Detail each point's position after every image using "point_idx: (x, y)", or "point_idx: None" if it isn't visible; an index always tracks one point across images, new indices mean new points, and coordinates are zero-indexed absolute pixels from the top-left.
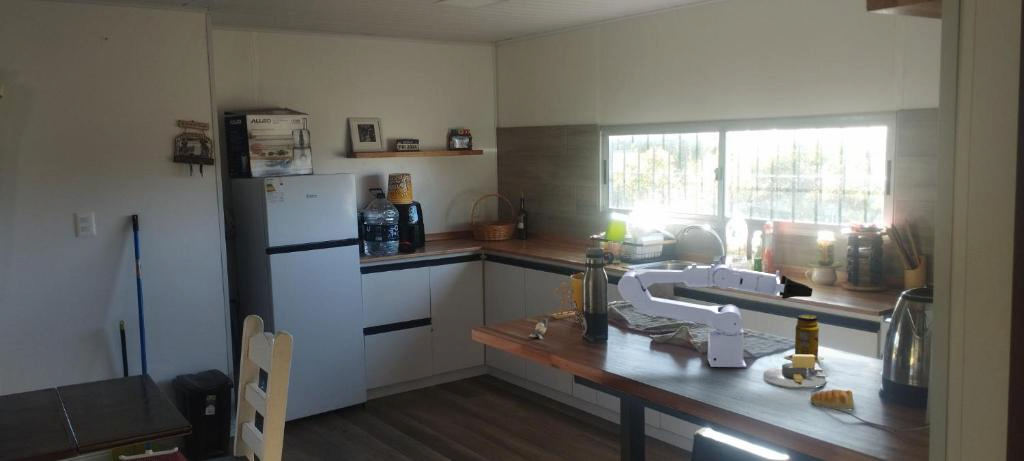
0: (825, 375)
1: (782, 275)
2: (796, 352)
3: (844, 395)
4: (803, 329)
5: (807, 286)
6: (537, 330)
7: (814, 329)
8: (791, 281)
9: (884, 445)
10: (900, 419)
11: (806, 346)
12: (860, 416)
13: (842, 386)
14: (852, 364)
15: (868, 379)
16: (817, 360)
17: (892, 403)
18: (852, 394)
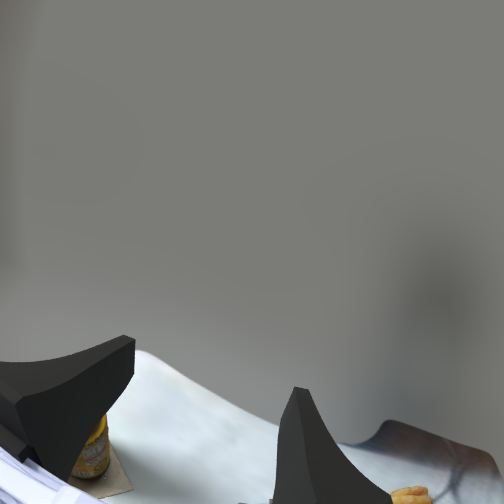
0: (271, 502)
1: (3, 396)
2: (78, 474)
3: (430, 498)
4: (91, 442)
5: (131, 343)
6: None
7: (105, 414)
8: (373, 487)
9: (492, 478)
10: (430, 449)
11: (103, 457)
12: (435, 491)
13: None
14: (159, 399)
15: (262, 426)
16: (110, 446)
17: (379, 441)
18: (425, 487)
